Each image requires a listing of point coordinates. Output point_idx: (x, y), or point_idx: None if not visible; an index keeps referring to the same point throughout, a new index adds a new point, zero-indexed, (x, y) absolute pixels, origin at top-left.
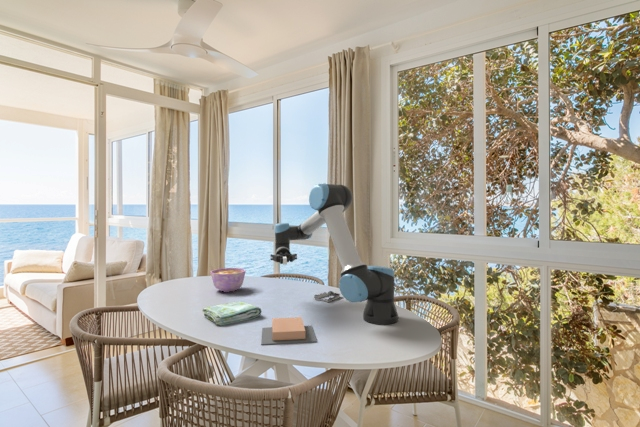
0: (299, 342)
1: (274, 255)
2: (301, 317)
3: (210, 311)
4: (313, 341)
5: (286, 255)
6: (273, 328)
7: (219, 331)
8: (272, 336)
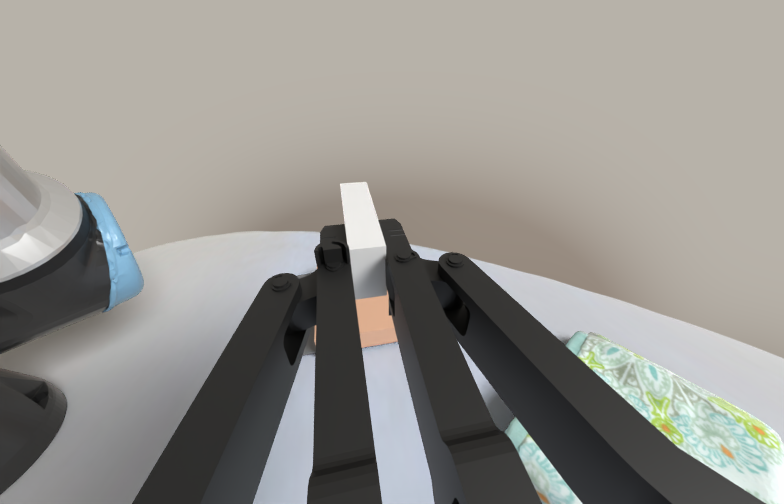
0: None
1: (584, 382)
2: (315, 338)
3: (675, 376)
4: (304, 274)
5: (342, 245)
6: None
7: (536, 311)
8: None
